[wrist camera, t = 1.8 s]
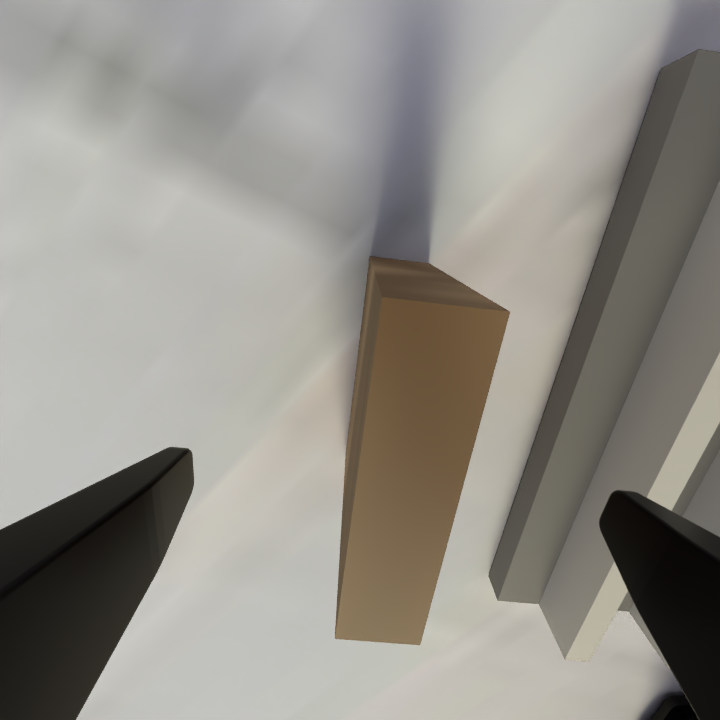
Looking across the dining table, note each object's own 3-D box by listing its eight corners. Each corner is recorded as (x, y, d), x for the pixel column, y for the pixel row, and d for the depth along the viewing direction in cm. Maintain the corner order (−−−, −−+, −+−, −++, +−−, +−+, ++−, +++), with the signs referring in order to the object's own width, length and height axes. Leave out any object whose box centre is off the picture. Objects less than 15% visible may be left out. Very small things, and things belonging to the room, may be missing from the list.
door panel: (428, 263, 12) (509, 312, 6) (393, 460, 15) (420, 645, 8) (369, 256, 12) (382, 297, 5) (345, 455, 15) (334, 638, 8)
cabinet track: (958, 111, 10) (1217, 63, 7) (668, 591, 18) (736, 672, 14) (661, 68, 10) (799, -3, 7) (488, 576, 17) (517, 655, 14)
